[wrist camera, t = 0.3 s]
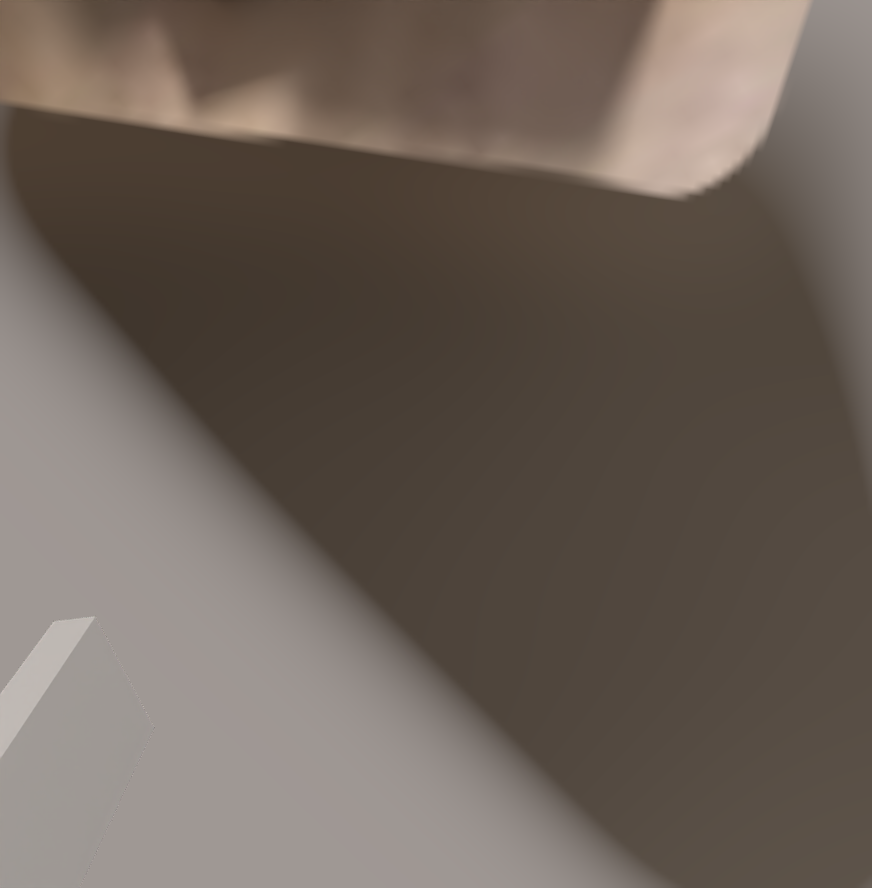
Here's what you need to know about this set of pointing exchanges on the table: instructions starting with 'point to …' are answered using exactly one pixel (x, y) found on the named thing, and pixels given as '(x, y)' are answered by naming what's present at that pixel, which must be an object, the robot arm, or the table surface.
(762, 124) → the table surface
